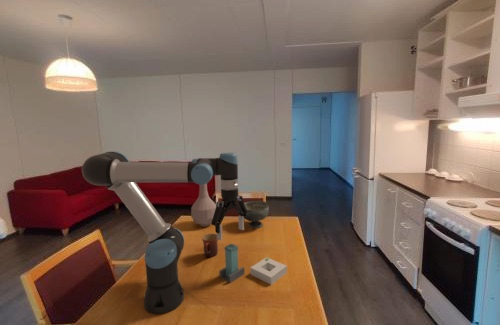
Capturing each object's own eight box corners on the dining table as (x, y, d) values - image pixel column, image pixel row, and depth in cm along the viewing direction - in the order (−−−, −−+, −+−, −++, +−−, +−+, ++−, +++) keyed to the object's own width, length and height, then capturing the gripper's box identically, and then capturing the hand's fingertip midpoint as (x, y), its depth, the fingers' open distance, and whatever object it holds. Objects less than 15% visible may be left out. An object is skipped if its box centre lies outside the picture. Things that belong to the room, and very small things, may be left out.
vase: (190, 222, 184) (187, 181, 180) (213, 218, 191) (212, 179, 187) (194, 231, 168) (192, 187, 164) (220, 227, 175) (219, 184, 171)
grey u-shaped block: (230, 284, 112) (230, 276, 112) (219, 277, 117) (219, 270, 117) (244, 275, 119) (244, 267, 118) (233, 269, 124) (233, 262, 123)
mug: (206, 250, 143) (205, 233, 141) (221, 251, 141) (220, 234, 140) (197, 261, 131) (196, 242, 130) (213, 263, 130) (213, 244, 128)
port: (271, 286, 111) (271, 276, 110) (250, 275, 119) (250, 266, 118) (286, 273, 119) (286, 264, 119) (266, 264, 127) (266, 256, 127)
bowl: (239, 221, 185) (239, 201, 183) (266, 219, 188) (265, 199, 185) (241, 232, 166) (241, 210, 164) (271, 230, 168) (271, 208, 166)
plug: (232, 279, 115) (231, 249, 113) (225, 275, 118) (224, 246, 116) (238, 274, 118) (237, 246, 116) (232, 271, 121) (231, 243, 119)
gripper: (213, 195, 100) (215, 246, 103) (254, 184, 119) (255, 227, 122) (201, 192, 105) (203, 241, 108) (242, 181, 124) (243, 223, 127)
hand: (230, 234), depth 115 cm, fingers open, 13 cm apart
